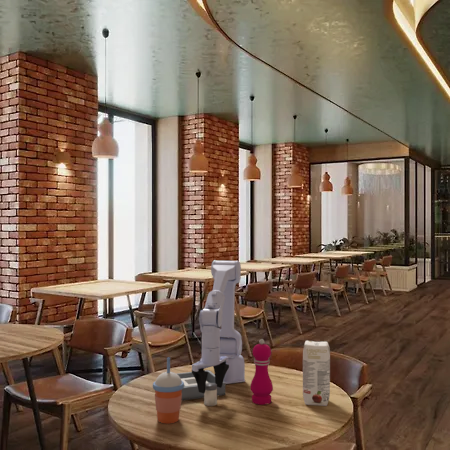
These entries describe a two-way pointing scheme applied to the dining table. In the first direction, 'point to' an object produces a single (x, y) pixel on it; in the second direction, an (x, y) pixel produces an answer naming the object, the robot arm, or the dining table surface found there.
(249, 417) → the dining table surface
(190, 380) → the inlet socket
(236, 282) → the robot arm
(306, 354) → the juice carton
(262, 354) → the pepper mill
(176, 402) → the cup with straw
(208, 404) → the connector peg
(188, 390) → the walled box
